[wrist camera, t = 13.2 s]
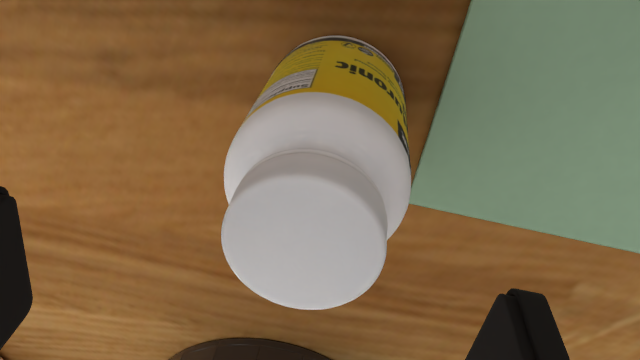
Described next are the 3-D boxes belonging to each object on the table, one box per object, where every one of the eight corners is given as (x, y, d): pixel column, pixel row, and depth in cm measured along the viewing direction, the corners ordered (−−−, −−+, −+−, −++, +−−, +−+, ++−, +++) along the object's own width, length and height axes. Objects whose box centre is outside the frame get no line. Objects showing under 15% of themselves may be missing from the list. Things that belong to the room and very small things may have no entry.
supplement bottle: (429, 123, 21) (456, 291, 12) (316, 178, 23) (272, 357, 14) (362, 2, 19) (339, 105, 10) (243, 74, 21) (142, 211, 12)
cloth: (406, 199, 23) (406, 203, 22) (530, -186, 15) (533, -187, 15) (676, 258, 22) (679, 262, 22) (929, -102, 15) (938, -102, 15)
